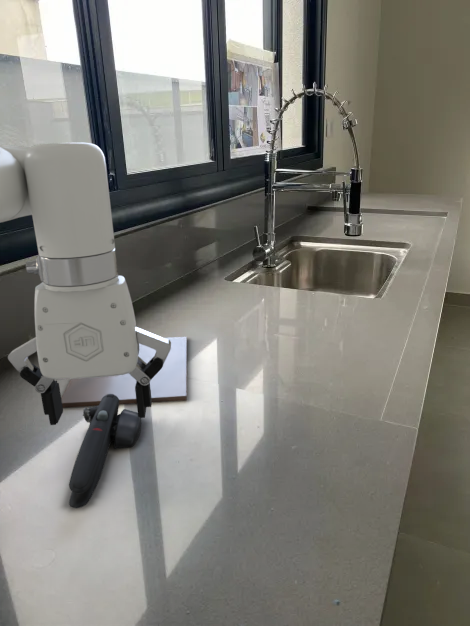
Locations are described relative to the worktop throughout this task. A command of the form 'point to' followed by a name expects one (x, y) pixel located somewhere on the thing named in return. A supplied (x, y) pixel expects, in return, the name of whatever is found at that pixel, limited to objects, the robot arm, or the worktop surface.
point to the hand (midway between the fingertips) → (100, 415)
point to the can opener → (100, 445)
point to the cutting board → (163, 385)
